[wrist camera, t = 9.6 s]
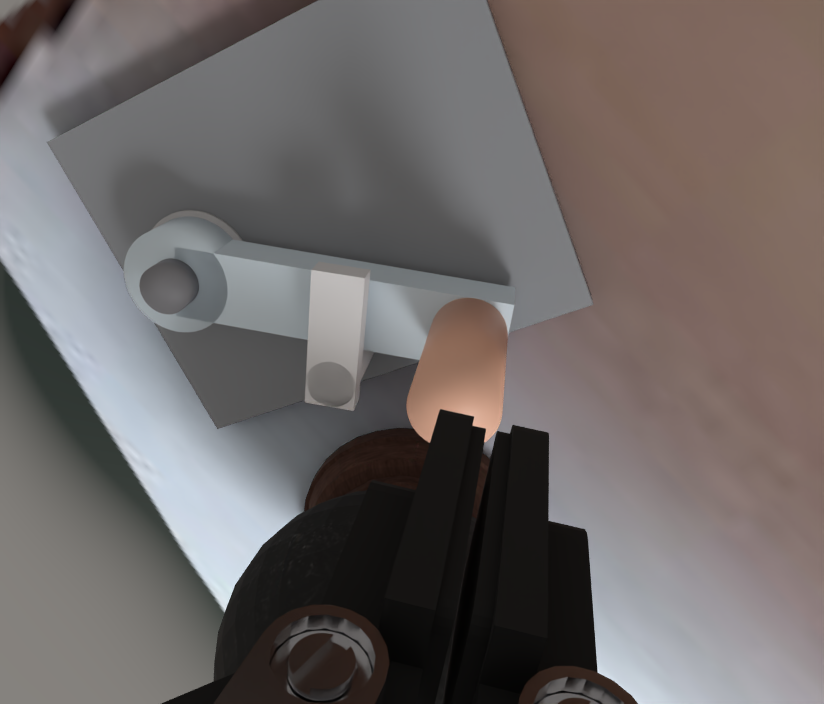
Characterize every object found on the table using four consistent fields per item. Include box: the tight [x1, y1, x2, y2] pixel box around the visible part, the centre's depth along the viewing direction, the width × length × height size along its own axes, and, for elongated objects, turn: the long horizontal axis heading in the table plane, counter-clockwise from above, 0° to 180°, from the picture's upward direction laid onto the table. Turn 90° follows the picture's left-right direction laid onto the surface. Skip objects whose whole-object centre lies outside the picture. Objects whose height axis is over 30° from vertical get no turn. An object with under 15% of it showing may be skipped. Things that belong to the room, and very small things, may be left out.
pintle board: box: [47, 0, 593, 429], centre depth 27 cm, size 18×14×5 cm
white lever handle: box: [124, 216, 515, 443], centre depth 26 cm, size 16×4×8 cm, turn 83°
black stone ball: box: [214, 428, 490, 704], centre depth 29 cm, size 13×13×15 cm
